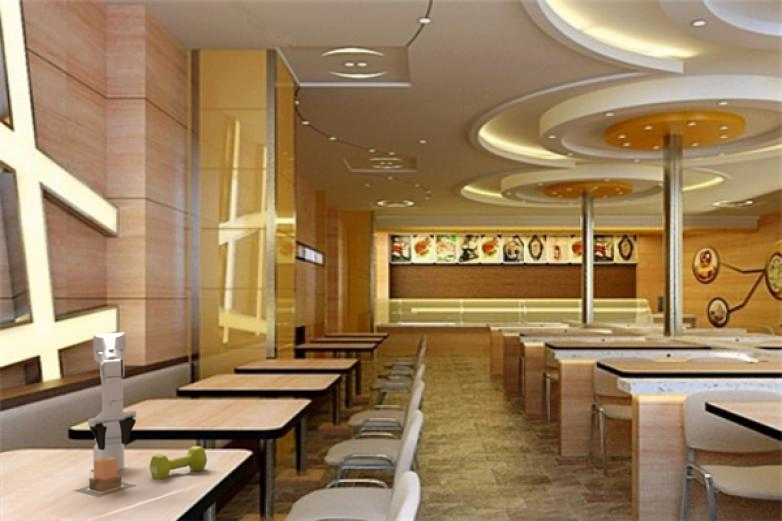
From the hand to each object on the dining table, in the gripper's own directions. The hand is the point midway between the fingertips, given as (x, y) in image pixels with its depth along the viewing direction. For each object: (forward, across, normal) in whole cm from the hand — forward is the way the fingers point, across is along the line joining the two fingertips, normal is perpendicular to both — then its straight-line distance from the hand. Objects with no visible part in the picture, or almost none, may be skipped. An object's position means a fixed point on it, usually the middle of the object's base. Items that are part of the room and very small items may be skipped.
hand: (113, 446), depth 200 cm
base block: (+10, -6, -5) cm, 12 cm away
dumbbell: (+11, +15, -10) cm, 21 cm away
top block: (+7, -6, -5) cm, 10 cm away
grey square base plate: (+10, -6, -5) cm, 13 cm away
